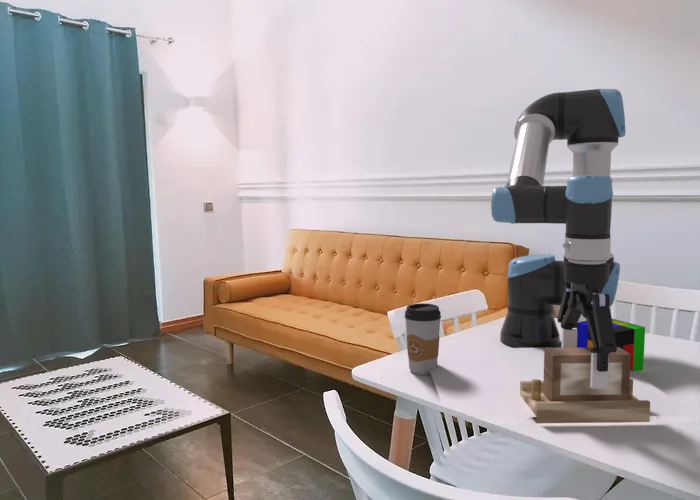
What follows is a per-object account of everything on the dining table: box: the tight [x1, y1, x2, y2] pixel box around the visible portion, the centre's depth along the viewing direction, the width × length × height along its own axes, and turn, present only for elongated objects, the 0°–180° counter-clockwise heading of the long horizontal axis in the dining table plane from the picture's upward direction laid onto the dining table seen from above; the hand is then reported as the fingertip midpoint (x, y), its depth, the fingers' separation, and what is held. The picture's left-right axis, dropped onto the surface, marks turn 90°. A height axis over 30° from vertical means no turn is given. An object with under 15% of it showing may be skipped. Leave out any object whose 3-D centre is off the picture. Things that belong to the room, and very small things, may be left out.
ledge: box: [519, 378, 651, 424], centre depth 101 cm, size 10×20×6 cm, turn 89°
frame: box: [543, 347, 631, 402], centre depth 100 cm, size 14×4×9 cm, turn 89°
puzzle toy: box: [576, 317, 646, 373], centre depth 124 cm, size 10×10×10 cm
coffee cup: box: [404, 302, 442, 376], centre depth 123 cm, size 8×8×15 cm
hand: (582, 374), depth 100 cm, fingers open, 13 cm apart
